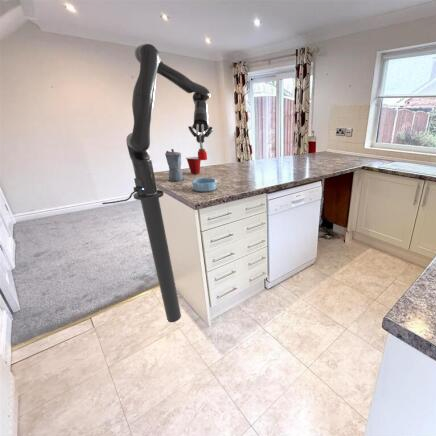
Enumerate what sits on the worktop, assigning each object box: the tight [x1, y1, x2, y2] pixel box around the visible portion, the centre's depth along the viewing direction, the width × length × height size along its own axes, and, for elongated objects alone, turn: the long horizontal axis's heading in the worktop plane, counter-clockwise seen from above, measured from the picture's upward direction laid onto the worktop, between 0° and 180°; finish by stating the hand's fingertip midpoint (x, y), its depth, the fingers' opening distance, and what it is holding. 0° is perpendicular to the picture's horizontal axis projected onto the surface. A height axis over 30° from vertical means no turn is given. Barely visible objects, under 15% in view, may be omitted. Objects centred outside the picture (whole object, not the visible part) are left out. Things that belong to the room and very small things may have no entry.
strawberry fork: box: [197, 132, 208, 161], centre depth 137 cm, size 5×5×14 cm
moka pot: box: [164, 148, 184, 182], centre depth 160 cm, size 10×15×20 cm, turn 58°
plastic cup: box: [185, 156, 202, 175], centre depth 179 cm, size 11×11×12 cm
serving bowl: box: [191, 177, 218, 193], centre depth 146 cm, size 14×14×5 cm
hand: (200, 141), depth 134 cm, fingers closed on strawberry fork, 1 cm apart
